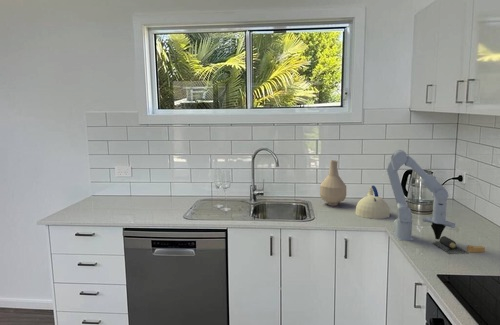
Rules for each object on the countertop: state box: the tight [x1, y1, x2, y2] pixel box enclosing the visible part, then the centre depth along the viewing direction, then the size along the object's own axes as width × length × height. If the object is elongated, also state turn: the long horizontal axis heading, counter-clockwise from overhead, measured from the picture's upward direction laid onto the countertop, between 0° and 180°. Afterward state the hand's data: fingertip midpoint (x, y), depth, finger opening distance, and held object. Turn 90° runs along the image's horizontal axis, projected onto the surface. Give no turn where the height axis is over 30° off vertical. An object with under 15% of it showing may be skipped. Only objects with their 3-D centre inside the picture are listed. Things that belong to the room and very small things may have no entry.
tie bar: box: [466, 244, 486, 253], centre depth 170 cm, size 2×7×3 cm, turn 95°
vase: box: [319, 160, 347, 207], centre depth 256 cm, size 18×18×30 cm
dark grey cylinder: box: [439, 235, 457, 250], centre depth 176 cm, size 7×4×4 cm, turn 5°
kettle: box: [355, 185, 390, 220], centre depth 232 cm, size 20×21×18 cm
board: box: [431, 240, 470, 255], centre depth 171 cm, size 24×10×2 cm, turn 5°
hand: (437, 238), depth 184 cm, fingers closed
